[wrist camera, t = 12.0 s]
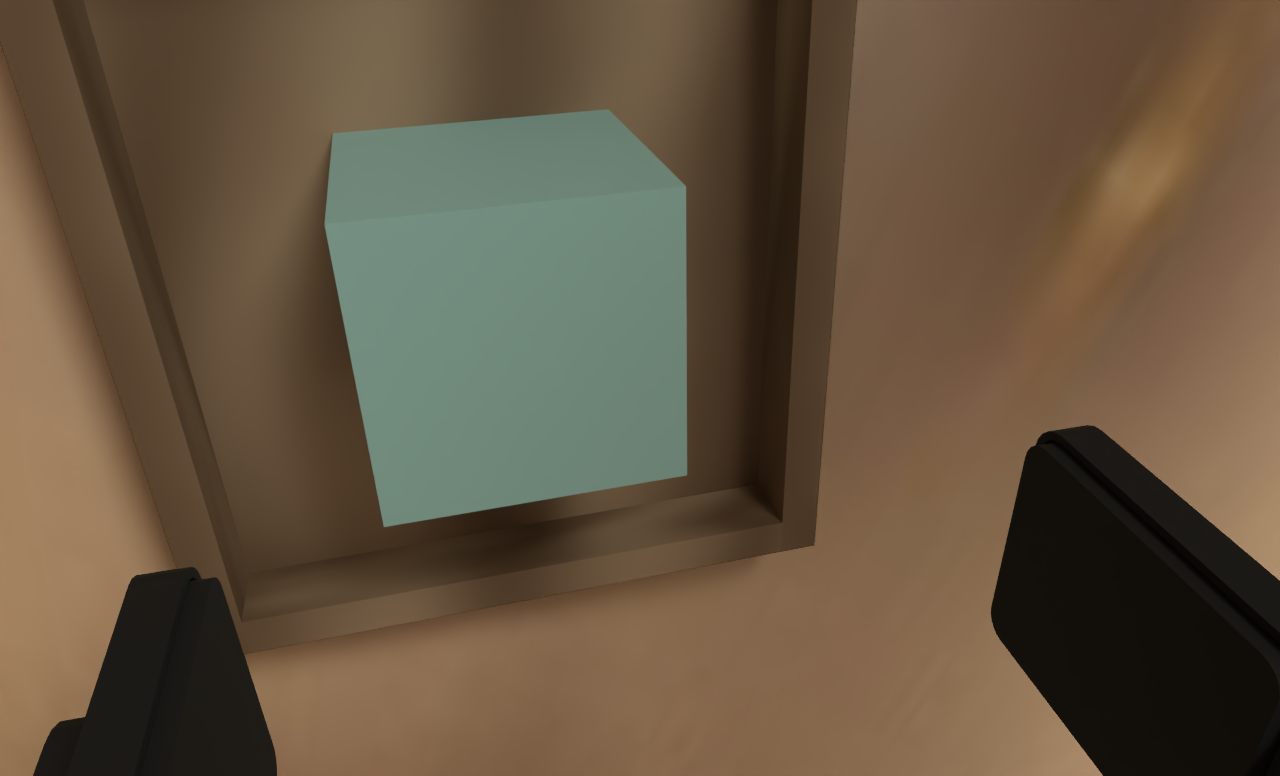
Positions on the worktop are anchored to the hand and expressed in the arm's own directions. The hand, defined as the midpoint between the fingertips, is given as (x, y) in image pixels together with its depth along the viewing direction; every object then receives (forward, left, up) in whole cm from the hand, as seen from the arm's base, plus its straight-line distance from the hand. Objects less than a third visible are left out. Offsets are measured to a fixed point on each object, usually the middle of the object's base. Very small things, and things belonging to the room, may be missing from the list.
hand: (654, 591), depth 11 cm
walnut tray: (0, +1, -14) cm, 14 cm away
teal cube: (0, +1, -13) cm, 13 cm away
